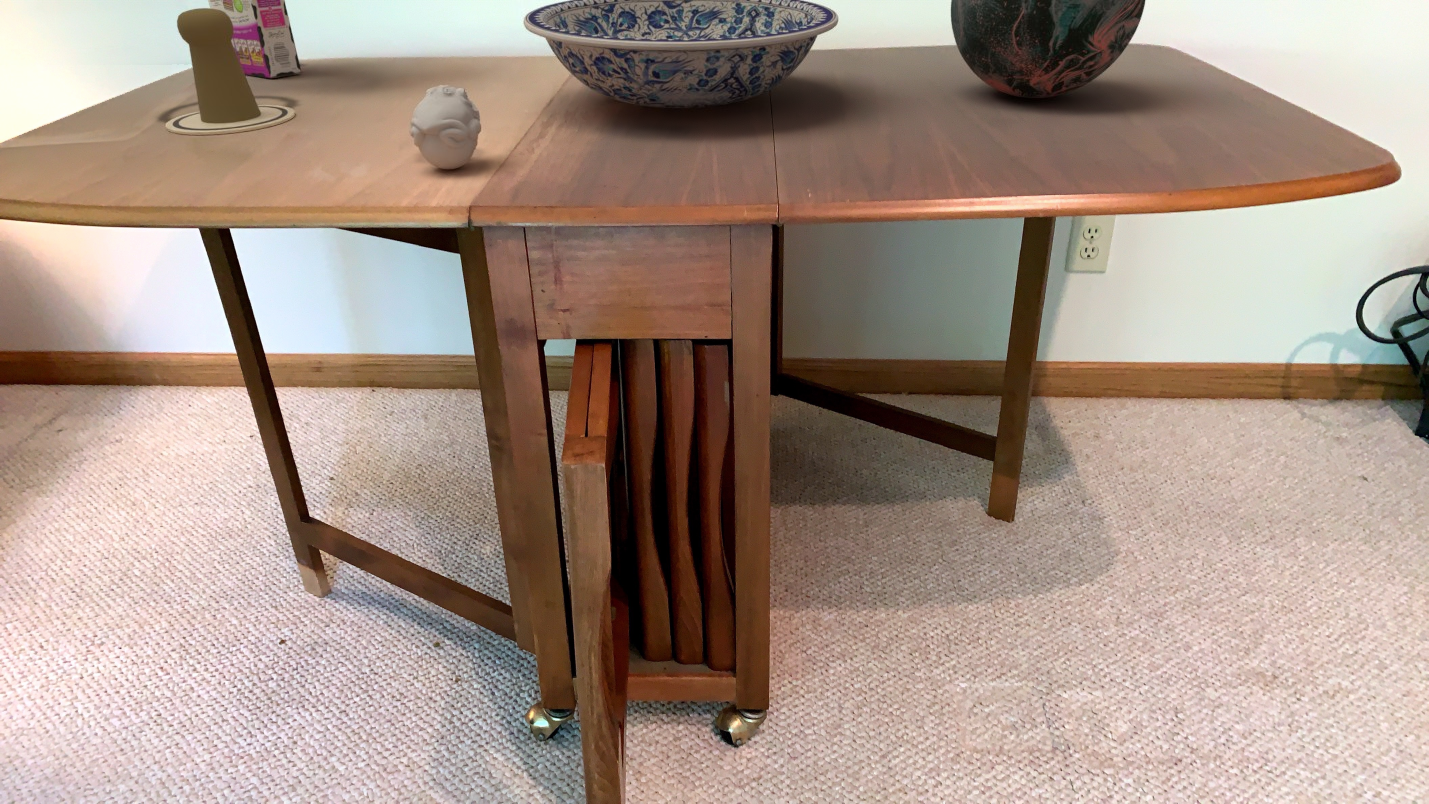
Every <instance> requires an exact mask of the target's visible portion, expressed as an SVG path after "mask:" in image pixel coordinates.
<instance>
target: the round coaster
mask: <svg viewBox="0 0 1429 804" xmlns="http://www.w3.org/2000/svg"><path fill="white" fill-rule="evenodd" d="M257 105H258V108H259V110H260V112H261V115H260V116H258V117H256V118H253V119H250V120H245V121H240V122H233V123H216V124H215V123H205V122H202V121H201V117H200V111H194V112H189V113H186V114H183V115H179V116H177V117H174V118H172V119H170V120H168V121H167V122H166V123H165V130H167V131H168V132H169V133H170V132H171V133H173V134H179V135H186V136H187V135H188V136H212V135H225V134H226V135H227V134H234V133H235V134H236V133H245V132H250V131H256V130H261V129H266V128H270V127H273V126H277V125H280V124H283V123H286V122H288V121H290V120H291V119H293V118H294V117H295V116H296V111H295V110H294V108H291V107H288V106H284V105H277V104H276V105H275V104H257Z"/></svg>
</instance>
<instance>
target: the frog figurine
mask: <svg viewBox="0 0 1429 804" xmlns="http://www.w3.org/2000/svg"><path fill="white" fill-rule="evenodd" d="M468 96H469V95H468V92H467V91H466V88H464V87H455V86H452V85H450V84H445V85H444V84H441V85H440V84H439V85H437V86H433V87H430V88H428V89H426V92H425V95H424V97H422V99H421V100H420V102H419V103H418V104H417V105H416V107H415V108H414V110H413V113H412V119H411V121H410V129H409V134H410V136H411V138H413V144H414V145H415V146H416V147H417V148H418V150H419V152H420V154H421V155H422V157H423V158H424V159H425V160H426V161H427V162H428V163H429V164H430V165H432V166H434V167H435V168H438V169H443V170H456V169H458V168H461V167H463V166H465V165H466V164H467V163H468V162H469V161H470V160H471V158H472V157H473V155H474V153H475V151H476V149H477V146H478V145H479V143H478V139H479V134H480V133H481V131H482V124H481V115H480V111H479V108H478V107H477V106H476V104H475V103H474V102H473V101H472V100H471V99H470V98H469V97H468Z"/></svg>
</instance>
